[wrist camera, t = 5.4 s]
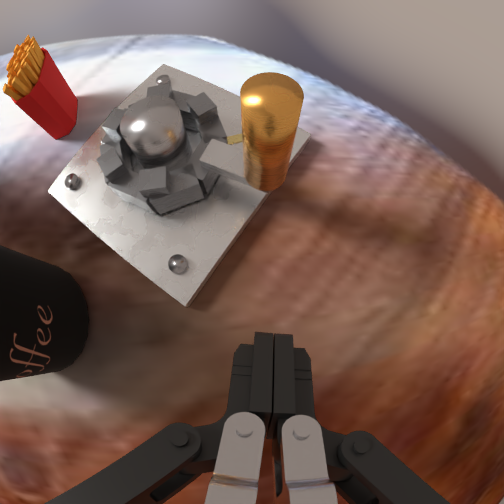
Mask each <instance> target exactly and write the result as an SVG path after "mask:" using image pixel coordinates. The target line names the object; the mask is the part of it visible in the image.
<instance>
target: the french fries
mask: <svg viewBox="0 0 504 504" xmlns="http://www.w3.org/2000/svg"><path fill="white" fill-rule="evenodd" d="M6 70H7V71H8V75H7V77H8V78H9V79H8V85H7V84H4V87H3V92H4V93H5V94H7V95H8V96H10V97H11V98H12V100H13V101H14V103H15V104H16V105H18V106H19V107H20V108H21V109H22V110H23V111H24V112H25V113H26V114H27V115H28V116H30V117H31V118H32V119H33V120H34V121H35V122H36V123H37V124H38V125H40V126H41V127H42V128H43V129H44V130H45V131H46V132H47V133H49V134H50V135H51V136H52V137H53V138H54V139H56V140H57V139H59V138H61V137H63V136H65V135H68V134H69V133H70V132H71V130H72V129H73V127H74V126H75V124H76V118H77V103H78V100H77V98H76V97H75V95H74V94H73V92H72V91H71V89H70V87H69V86H68V84H67V82H66V81H65V79H64V78H63V76H62V74H61V73H60V71H59V69H58V68H57V66H56V64H55V63H54V61H53V59H52V58H51V56H50V54H49V53H48V51H47V50H46V49H44V48H41V49H40V47H39V45H38V43H37V42H36V40H35V38H34V37H32V39H30V37H29V35H28V36H27V37H26V39H25V41H24V43H22V44H21V46H19V45H18V44H17V45H16V47H15V49H14V55H13V57H12V58H11V60H10V61H9V63H8V65H7V69H6Z"/></svg>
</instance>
